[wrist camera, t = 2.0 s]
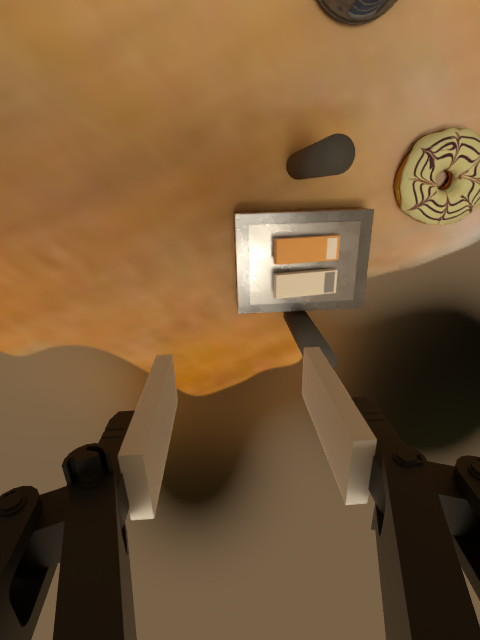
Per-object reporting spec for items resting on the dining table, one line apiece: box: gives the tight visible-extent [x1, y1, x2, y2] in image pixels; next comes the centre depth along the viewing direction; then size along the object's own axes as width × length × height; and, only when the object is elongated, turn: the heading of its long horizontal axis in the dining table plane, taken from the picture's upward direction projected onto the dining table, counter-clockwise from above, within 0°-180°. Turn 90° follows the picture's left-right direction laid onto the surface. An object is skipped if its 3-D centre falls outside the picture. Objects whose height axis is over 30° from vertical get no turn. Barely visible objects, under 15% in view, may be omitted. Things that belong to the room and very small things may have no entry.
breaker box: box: [234, 208, 374, 314], centre depth 42 cm, size 16×12×5 cm
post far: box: [284, 311, 337, 370], centre depth 40 cm, size 3×3×14 cm
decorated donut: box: [394, 128, 480, 225], centre depth 40 cm, size 10×11×4 cm
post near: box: [287, 134, 355, 180], centre depth 33 cm, size 3×3×14 cm
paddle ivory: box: [273, 268, 338, 299], centre depth 39 cm, size 8×3×1 cm, turn 92°
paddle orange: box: [274, 234, 340, 265], centre depth 38 cm, size 8×3×1 cm, turn 92°
